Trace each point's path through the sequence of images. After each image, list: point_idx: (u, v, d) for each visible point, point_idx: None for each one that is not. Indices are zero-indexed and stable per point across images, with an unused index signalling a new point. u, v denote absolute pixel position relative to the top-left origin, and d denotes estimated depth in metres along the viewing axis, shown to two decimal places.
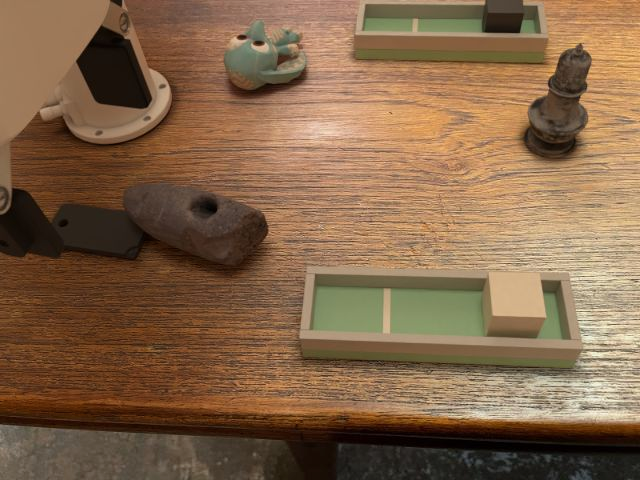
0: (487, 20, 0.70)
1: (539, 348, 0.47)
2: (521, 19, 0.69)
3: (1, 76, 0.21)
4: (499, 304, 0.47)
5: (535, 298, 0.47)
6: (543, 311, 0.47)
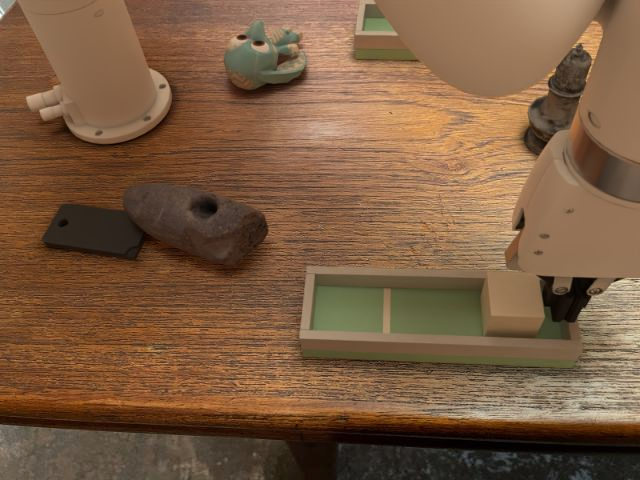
0: None
1: (539, 348, 0.47)
2: None
3: (551, 259, 0.40)
4: (498, 304, 0.47)
5: (534, 298, 0.47)
6: (542, 311, 0.47)
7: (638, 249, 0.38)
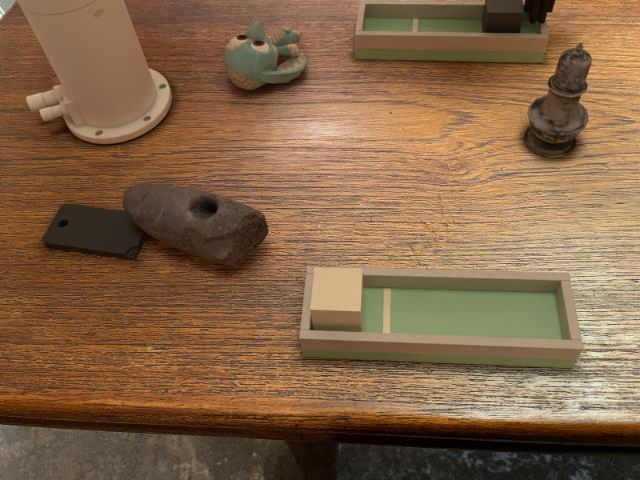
0: (487, 20, 0.70)
1: (539, 348, 0.47)
2: (521, 19, 0.69)
3: None
4: (318, 299, 0.49)
5: (354, 293, 0.49)
6: (358, 305, 0.48)
7: None
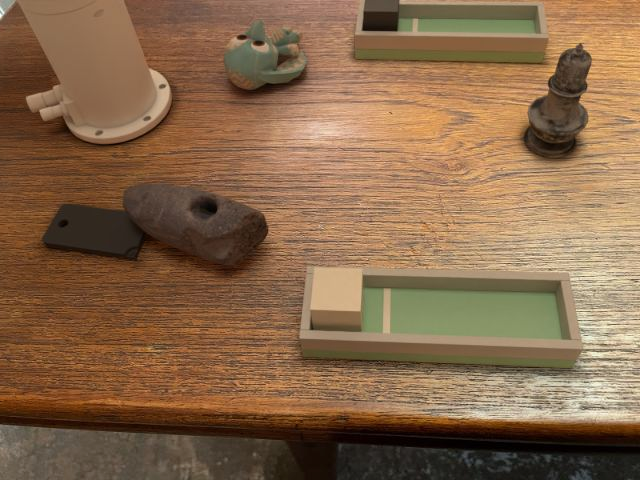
0: (364, 18, 0.71)
1: (539, 348, 0.47)
2: (396, 18, 0.71)
3: None
4: (318, 299, 0.49)
5: (354, 293, 0.49)
6: (358, 305, 0.48)
7: None
